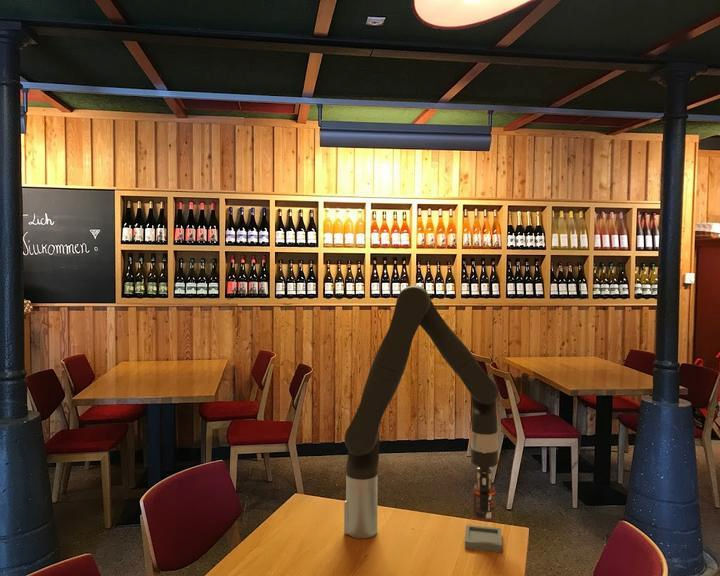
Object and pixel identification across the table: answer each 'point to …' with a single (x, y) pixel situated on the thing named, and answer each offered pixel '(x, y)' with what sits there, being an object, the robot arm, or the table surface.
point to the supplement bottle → (490, 513)
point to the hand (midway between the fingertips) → (484, 505)
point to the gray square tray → (483, 538)
